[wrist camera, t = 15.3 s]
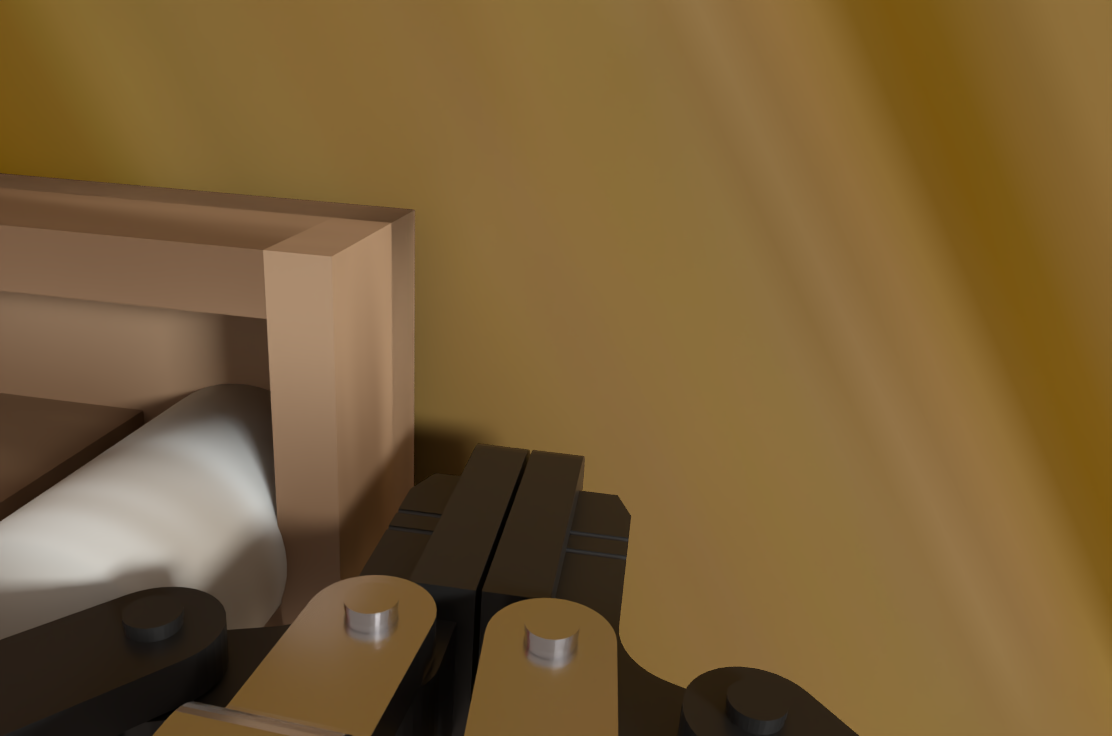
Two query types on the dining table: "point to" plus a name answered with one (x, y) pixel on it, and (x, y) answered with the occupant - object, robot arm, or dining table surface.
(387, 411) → the caddy
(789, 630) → the dining table surface
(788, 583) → the dining table surface
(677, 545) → the dining table surface
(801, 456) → the dining table surface
